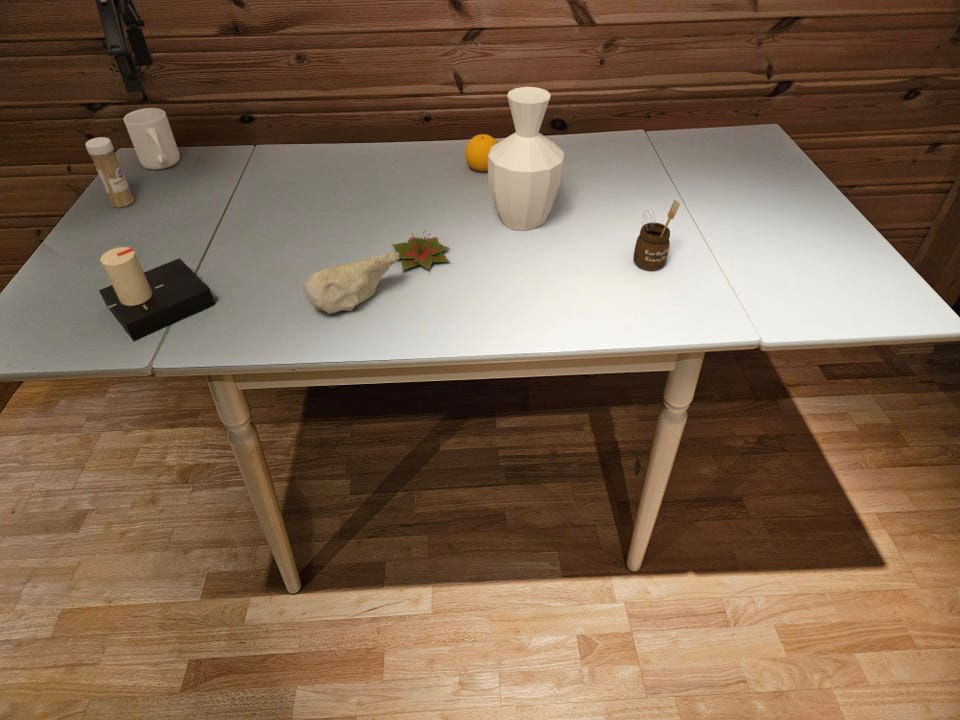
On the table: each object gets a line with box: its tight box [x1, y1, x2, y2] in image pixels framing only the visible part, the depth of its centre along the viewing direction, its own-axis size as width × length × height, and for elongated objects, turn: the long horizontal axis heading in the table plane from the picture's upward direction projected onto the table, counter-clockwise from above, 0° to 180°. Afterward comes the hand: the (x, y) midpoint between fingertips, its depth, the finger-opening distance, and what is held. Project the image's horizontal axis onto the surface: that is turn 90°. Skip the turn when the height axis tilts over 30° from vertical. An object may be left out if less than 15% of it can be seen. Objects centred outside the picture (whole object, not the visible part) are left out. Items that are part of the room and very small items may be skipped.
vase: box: [487, 86, 565, 232], centre depth 123 cm, size 14×14×25 cm
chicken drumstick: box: [301, 251, 400, 315], centre depth 110 cm, size 15×7×15 cm
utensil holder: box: [633, 199, 681, 272], centre depth 116 cm, size 6×6×12 cm
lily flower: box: [391, 230, 451, 272], centre depth 121 cm, size 12×12×5 cm
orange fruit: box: [464, 133, 499, 172], centre depth 145 cm, size 8×8×8 cm
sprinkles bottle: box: [84, 136, 135, 209], centre depth 132 cm, size 5×5×14 cm
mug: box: [123, 107, 181, 171], centre depth 145 cm, size 9×12×11 cm
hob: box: [98, 257, 216, 342], centre depth 110 cm, size 15×12×4 cm
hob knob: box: [100, 246, 152, 306], centre depth 105 cm, size 5×5×8 cm
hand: (141, 78), depth 122 cm, fingers open, 13 cm apart
